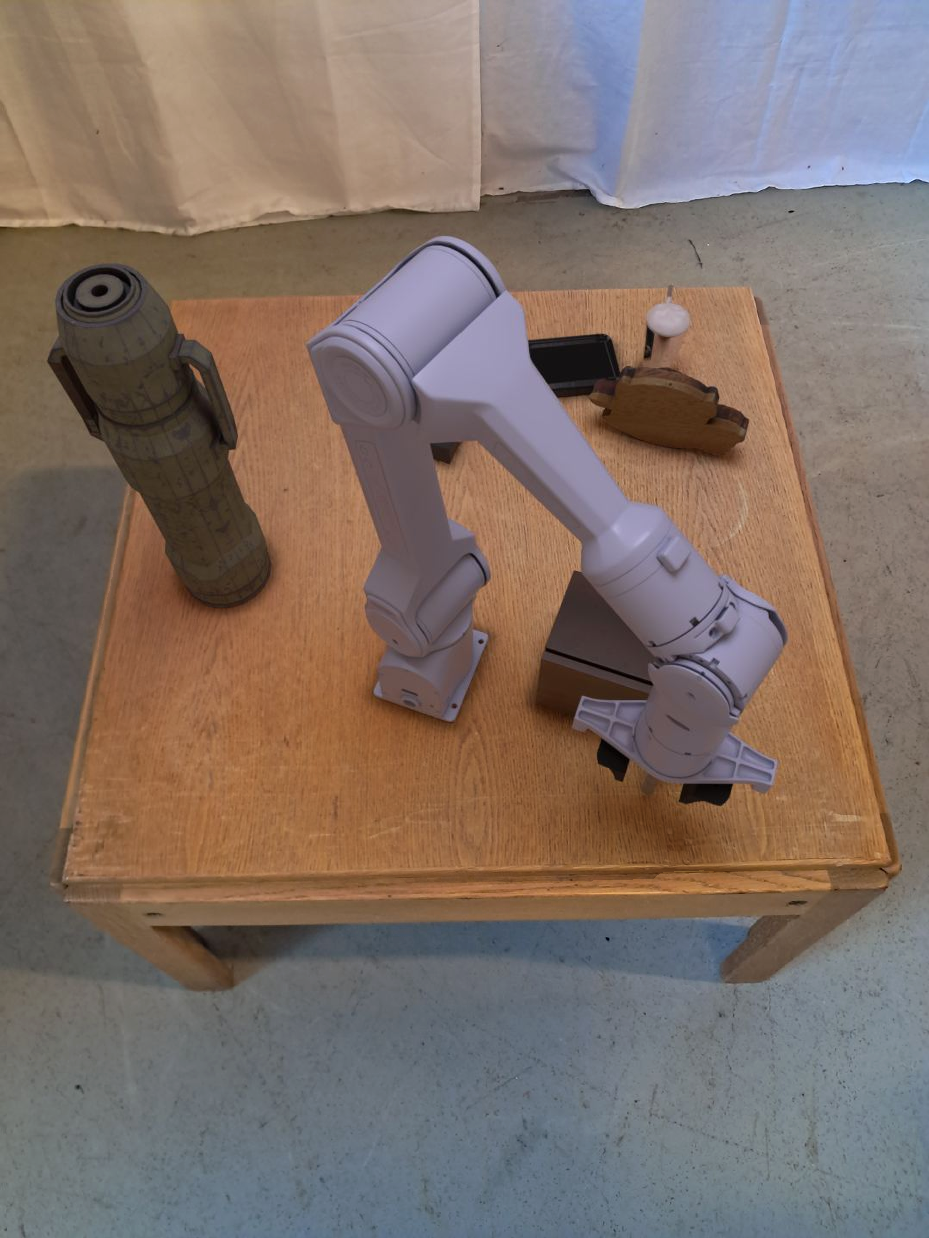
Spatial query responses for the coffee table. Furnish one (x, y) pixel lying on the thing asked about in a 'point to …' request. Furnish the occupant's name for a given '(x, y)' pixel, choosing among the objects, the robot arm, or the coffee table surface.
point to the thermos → (161, 426)
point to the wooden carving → (669, 410)
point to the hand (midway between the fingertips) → (653, 780)
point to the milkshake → (664, 333)
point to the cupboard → (597, 634)
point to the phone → (574, 362)
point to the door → (586, 691)
